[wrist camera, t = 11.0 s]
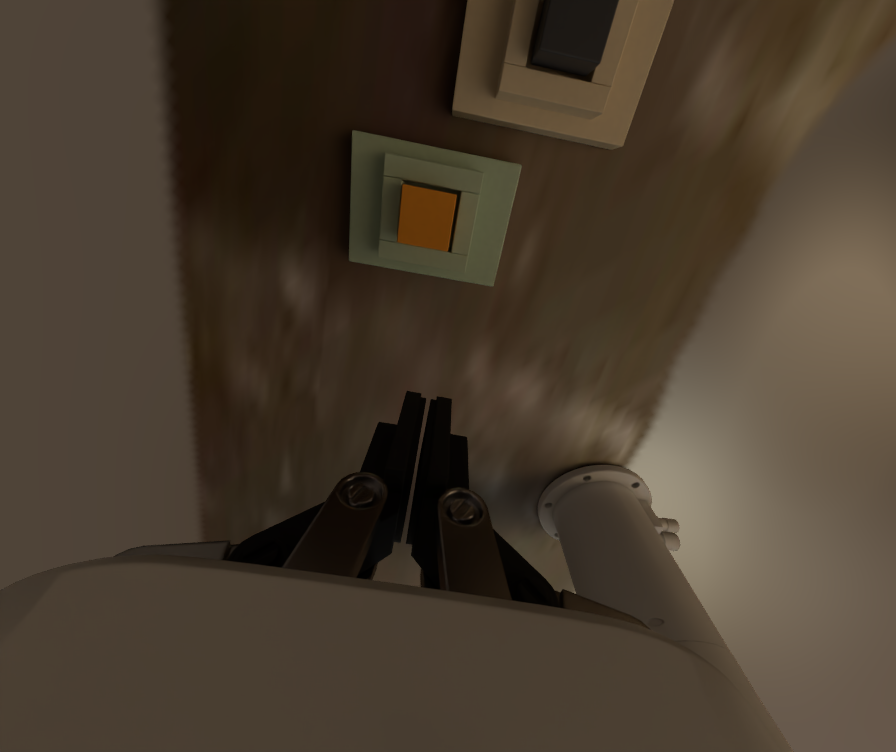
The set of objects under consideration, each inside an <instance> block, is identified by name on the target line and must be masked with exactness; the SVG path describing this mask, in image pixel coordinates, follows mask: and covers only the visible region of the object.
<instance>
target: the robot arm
mask: <svg viewBox="0 0 896 752" xmlns="http://www.w3.org/2000/svg"><path fill="white" fill-rule="evenodd" d="M425 403H426V398H422V397H421V393H416V392H410V391H407V392H406V396H405V399H404V403H403V406H402V410H401V413H400V417H399V420H398V424H397V425H395V424H389V423H383V422H379V423H378V425H377V427H376V430H375V433H374V435H373V438H372V441H371V444H370V446H369V449H368V452H367V454H366V457H365V460H364V462H363V465H362V468H361V470H360V472H356V473H353V474H349V475H347V476H346V477H344V478H342V479H341V480H340V481H339V482H338V483H337V485H336V486H335V488H334V489H333V491H332V492H331V494H330V495H329V497H328V498H327V500H326V501H325V502H323V503H321V504H319V505H317V506H315V507H313V508H310V509H308V510H306V511H304V512H302V513H300V514H298V515H296V516H293V517H291V518H289V519H287V520H285V521H283V522H281V523H279V524H276V525H274V526H272V527H270V528H268V529H266V530H264V531H262V532H259V533H257V534H255V535H253V536H251V537H249V538H248V539H246V540H244V541H243V542H241V543H240V544H235V545H231V544H230V540H229V541H213V542H198V543H182V544H166V545H151V546H141V547H136V548H131V549H129V550H126V551H124V552H122V553H119V554H117V555H115V556H114V557H107V558H100V559H95V560H89V561H84V562H79V563H74V564H69V565H65V566H61V567H57V568H54V569H50V570H47V571H44V572H41V573H38V574H35V575H32V576H30V577H27V578H25V579H22V580H20V581H18V582H15V583H13V584H11V585H9V586H8V587H6V588H4V589H2V590H0V752H793V750H792V748H791V747H790V745H789V744H788V742H787V741H786V739H785V738H784V736H783V734H782V733H781V731H780V730H779V728H778V727H777V725H776V723H775V722H774V720H773V719H772V717H771V716H770V714H769V712H768V711H767V710H766V708H765V706H764V705H763V703H762V701H761V700H760V698H759V697H758V695H757V694H756V692H755V690H754V689H753V687H752V685H751V684H750V683H749V681H748V679H747V677H746V676H745V675H744V673H743V671H742V669H741V668H740V666H739V664H738V663H737V661H736V659H735V658H734V656H733V655H732V653H731V652H730V650H729V649H728V647H727V645H726V644H725V642H724V641H723V639H722V637H721V635H720V634H719V632H718V631H717V629H716V627H715V626H714V624H713V622H712V621H711V619H710V618H709V616H708V614H707V613H706V611H705V609H704V608H703V606H702V604H701V603H700V601H699V600H698V598H697V596H696V594H695V593H694V591H693V590H692V588H691V586H690V585H689V583H688V581H687V580H686V578H685V577H684V575H683V573H682V571H681V570H680V568H679V567H678V565H677V563H676V562H675V560H674V558H673V557H672V555H671V553H670V552H669V550H673V551H677V550H678V549H679V547H680V540H679V538H678V536H677V535H676V534H675V533H677V532H678V531H679V524H678V522H677V521H676V520H674V519H667V518H658V517H657V516H656V515H655V513H654V512H653V510H652V509H651V503H652V498H651V493H650V491H649V488H648V487H647V485H646V484H645V483H644V481H643V480H642V478H640V477H639V476H638V475H637V474H636V473H634V472H632V471H630V470H629V469H626V468H623V467H619V466H613V465H593V466H586V467H582V468H579V469H575V470H573V471H570V472H568V473H566V474H564V475H562V476H561V477H559V478H557V479H556V480H555V481H553V482H552V483H551V484H550V485H549V486H548V487H547V488H546V489H545V490H544V492H543V493H542V495H541V497H540V499H539V502H538V507H537V508H538V516H539V520H540V523H541V525H542V527H543V529H544V530H545V531H546V532H547V533H548V534H549V535H550V536H552V537H553V538H555V539H557V540H559V541H560V543H561V546H562V549H563V553H564V556H565V559H566V562H567V565H568V569H569V572H570V575H571V578H572V582H573V585H574V588H575V591H576V594H574V593H572V592H569V591H567V590H564V589H562V591H561V593H560V592H558V591H555V590H554V589H553V587H552V586H551V585H550V584H549V583H548V581H547V580H546V579H545V578H544V577H543V576H542V575H541V574H540V573H539V572H538V571H537V570H536V569H534V568H533V567H532V566H531V565H530V564H529V563H528V562H527V561H526V560H525V559H524V558H523V557H522V556H521V555H520V554H519V553H518V552H517V551H516V550H515V549H514V548H513V547H512V546H510V545H509V544H508V543H507V542H506V541H505V540H504V539H503V538H502V537H501V536H500V535H499V534H498V533H497V532H496V531H495V530H494V529H493V527H492V523H491V520H490V516H489V512H488V508H487V506H486V504H485V502H484V500H483V499H482V498H481V497H480V496H479V495H478V494H476V493H475V492H474V491H471V490H469V473H468V444H467V437H465V436H459V435H453V434H450V431H451V405H452V399H449V398H444V397H438V396H437V399H436V400H433V399H431V401H430V406H429V411H428V416H427V422H426V427H425V432H424V437H423V442H422V448H421V453H420V458H419V464H418V470H417V477H416V483H415V489H414V496H413V502H412V508H411V515H410V521H409V528H408V534H407V540H406V544H412V552H411V556H412V557H413V558H414V559H415V561H416V562H417V563H418V565H419V566H420V567H421V574H420V582H421V587H416V586H409V585H402V584H395V583H388V582H381V581H374V580H373V577H374V575H375V572H376V569H377V564H378V562H379V561H381V560H382V559H384V558H385V557H387V556H388V555H390V554H391V553H392V548H393V543H394V542H398V543H401V537H402V532H403V527H404V522H405V516H406V511H407V506H408V500H409V495H410V490H411V484H412V479H413V473H414V468H415V462H416V456H417V450H418V444H419V438H420V433H421V427H422V421H423V415H424V409H425ZM662 530H663V531H662ZM673 532H674V533H673Z"/></svg>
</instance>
